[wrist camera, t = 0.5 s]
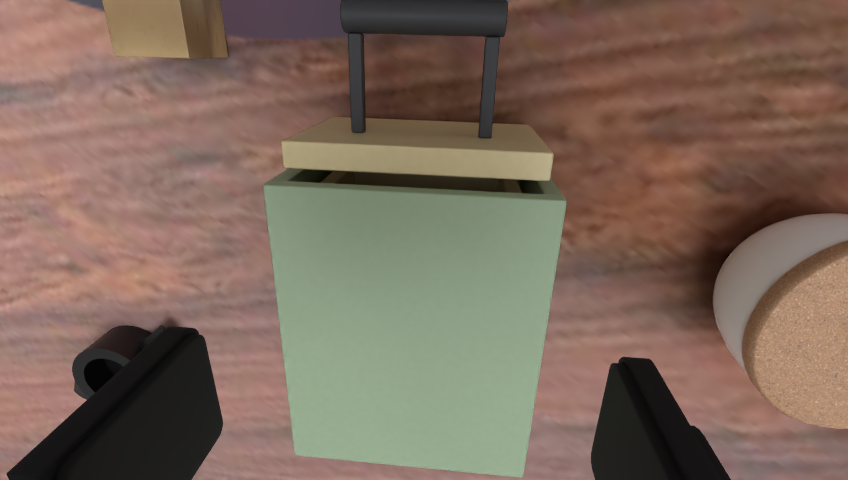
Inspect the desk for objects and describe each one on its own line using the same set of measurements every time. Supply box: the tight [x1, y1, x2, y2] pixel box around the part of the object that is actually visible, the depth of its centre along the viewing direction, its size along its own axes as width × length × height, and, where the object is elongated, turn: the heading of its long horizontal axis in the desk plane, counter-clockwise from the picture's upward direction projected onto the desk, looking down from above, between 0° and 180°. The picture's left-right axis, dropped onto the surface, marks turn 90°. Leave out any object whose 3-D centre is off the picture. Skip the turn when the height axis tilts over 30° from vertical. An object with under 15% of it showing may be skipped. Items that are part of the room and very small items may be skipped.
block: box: [102, 0, 228, 58], centre depth 24 cm, size 4×4×4 cm
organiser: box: [263, 168, 567, 478], centre depth 26 cm, size 16×13×10 cm
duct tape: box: [72, 325, 165, 400], centre depth 34 cm, size 8×10×3 cm
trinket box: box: [713, 213, 848, 429], centre depth 24 cm, size 11×11×9 cm
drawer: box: [281, 0, 554, 193], centre depth 24 cm, size 20×11×8 cm, turn 179°
